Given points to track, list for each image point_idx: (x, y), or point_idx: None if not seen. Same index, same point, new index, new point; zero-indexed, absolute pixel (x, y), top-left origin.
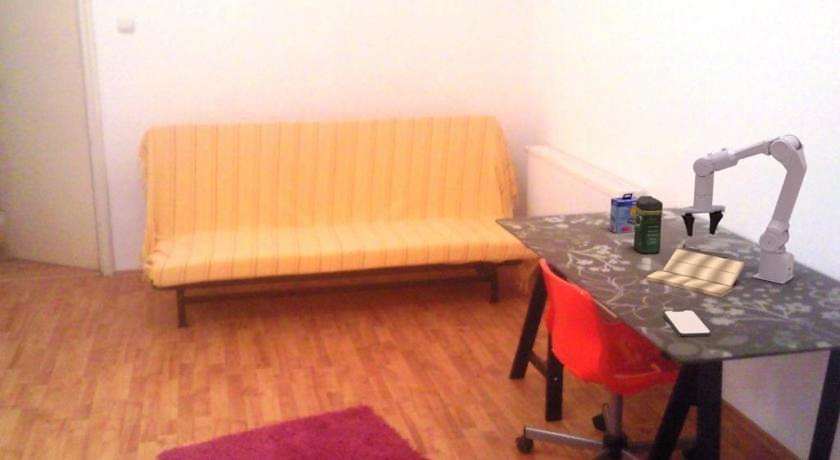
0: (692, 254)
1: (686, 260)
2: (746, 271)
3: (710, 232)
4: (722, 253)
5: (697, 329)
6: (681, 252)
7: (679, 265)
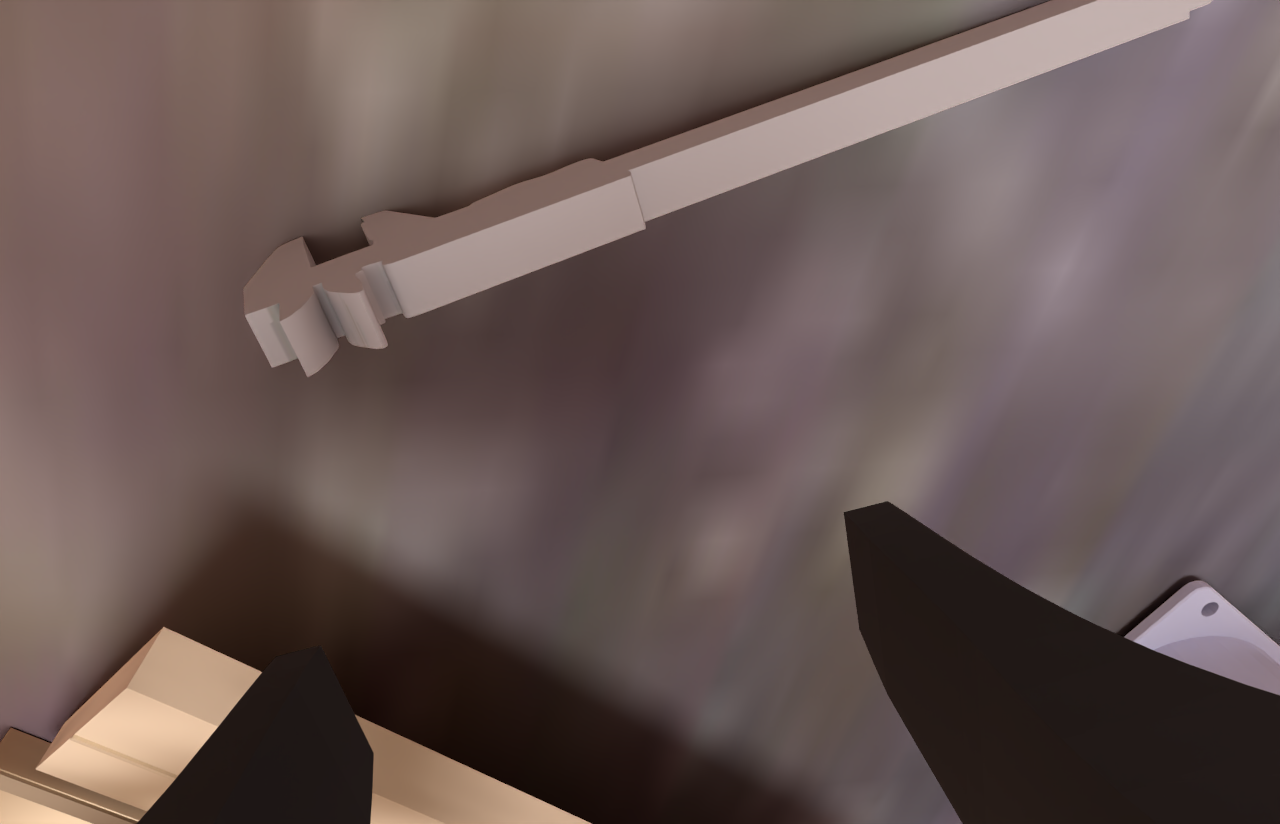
0: (387, 815)
1: None
2: (1029, 576)
3: (859, 569)
4: (1017, 79)
5: None
6: None
7: None
